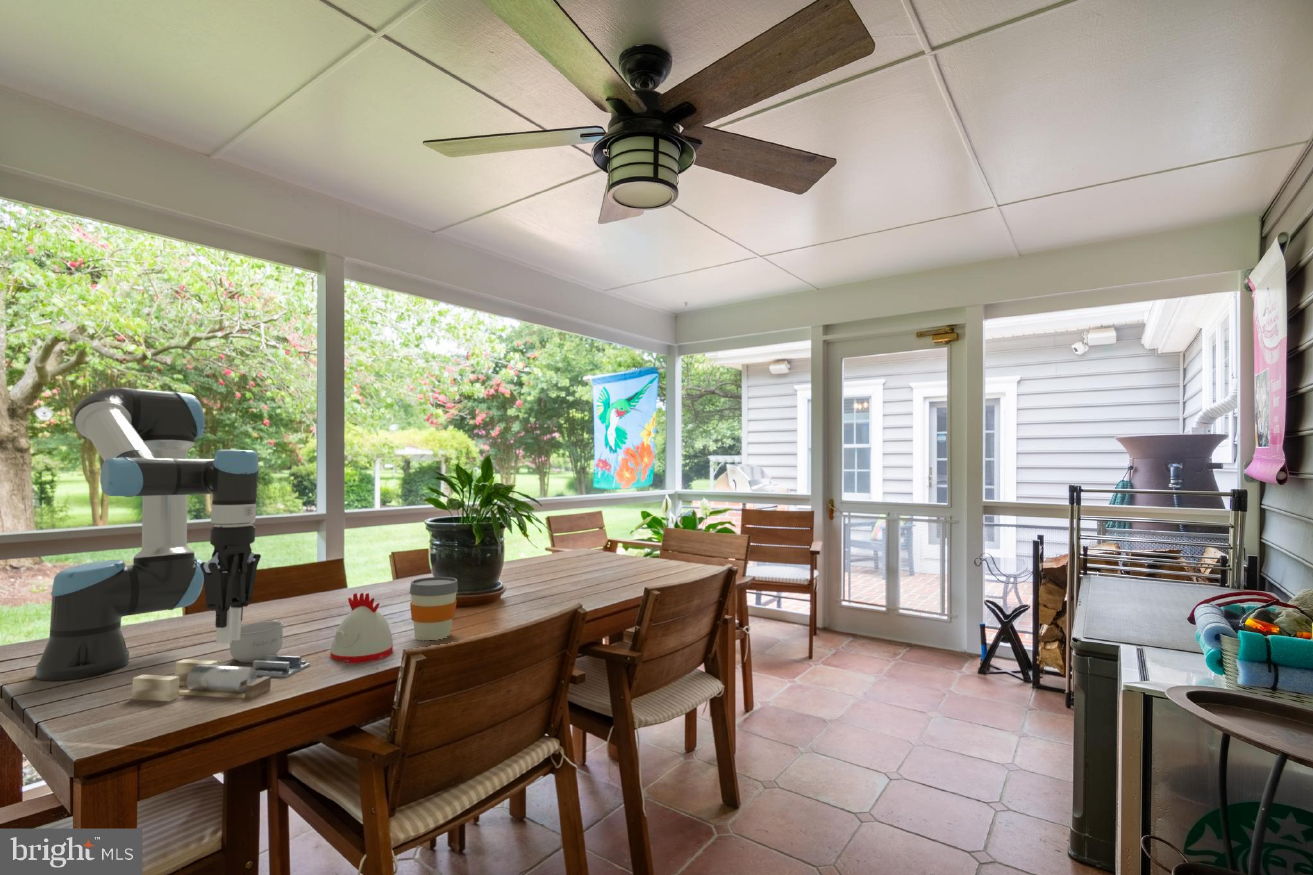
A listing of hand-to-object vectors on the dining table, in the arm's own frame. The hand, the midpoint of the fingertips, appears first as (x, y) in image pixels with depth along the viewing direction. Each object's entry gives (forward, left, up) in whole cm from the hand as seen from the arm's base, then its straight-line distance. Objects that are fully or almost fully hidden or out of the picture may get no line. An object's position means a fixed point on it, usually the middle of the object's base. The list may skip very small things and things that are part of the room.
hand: (228, 641), depth 122 cm
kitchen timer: (+12, +28, -11) cm, 33 cm away
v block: (+1, +13, -11) cm, 17 cm away
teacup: (-10, +22, -11) cm, 27 cm away
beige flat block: (-4, 0, -11) cm, 11 cm away
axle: (-1, 0, -10) cm, 10 cm away
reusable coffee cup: (+22, +45, -11) cm, 51 cm away
